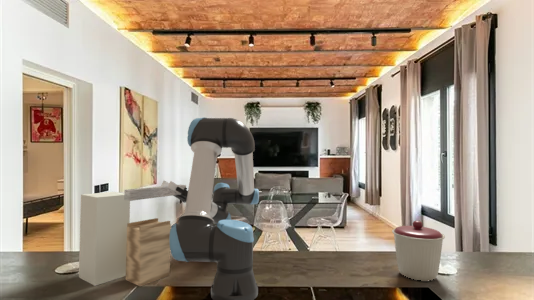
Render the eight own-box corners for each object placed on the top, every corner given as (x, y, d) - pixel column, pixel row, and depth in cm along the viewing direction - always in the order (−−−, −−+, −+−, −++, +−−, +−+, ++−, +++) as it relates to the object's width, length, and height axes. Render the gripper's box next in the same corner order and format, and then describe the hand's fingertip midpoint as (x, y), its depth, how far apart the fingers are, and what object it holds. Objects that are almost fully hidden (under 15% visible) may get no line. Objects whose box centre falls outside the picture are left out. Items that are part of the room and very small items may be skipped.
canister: (452, 288, 107) (452, 227, 107) (397, 283, 110) (397, 224, 111) (435, 269, 124) (435, 217, 125) (387, 266, 128) (388, 215, 128)
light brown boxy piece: (169, 275, 114) (170, 221, 115) (140, 286, 105) (141, 226, 105) (155, 270, 120) (156, 218, 120) (125, 279, 110) (127, 223, 110)
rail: (185, 193, 124) (186, 185, 124) (129, 200, 105) (130, 190, 105) (180, 193, 126) (180, 184, 126) (124, 199, 107) (124, 189, 107)
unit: (128, 275, 114) (130, 194, 115) (94, 285, 105) (97, 197, 105) (110, 267, 122) (112, 191, 122) (78, 276, 112) (80, 194, 113)
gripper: (215, 218, 129) (175, 194, 112) (188, 213, 138) (148, 191, 122) (221, 201, 132) (184, 176, 115) (195, 197, 141) (157, 174, 125)
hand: (166, 184), depth 119 cm, fingers closed on rail, 3 cm apart
